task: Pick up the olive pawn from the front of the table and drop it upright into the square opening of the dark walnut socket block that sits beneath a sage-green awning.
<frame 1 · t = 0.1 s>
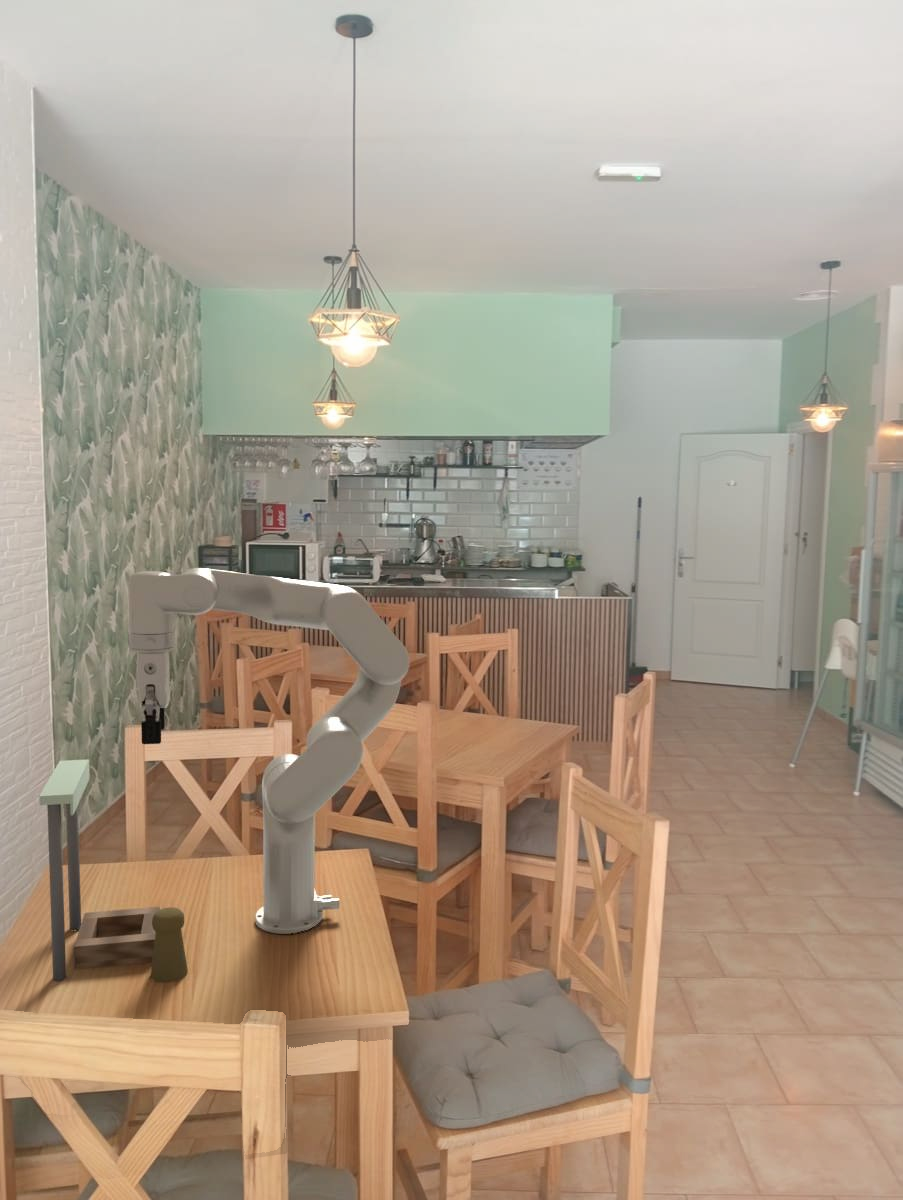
hand: (153, 736, 169), 37 cm above the table, tool pointing down, fingers open, 9 cm apart
socket block: (119, 947, 168), on the table
awning: (68, 865, 164), on the table
olive pawn: (169, 974, 159), on the table
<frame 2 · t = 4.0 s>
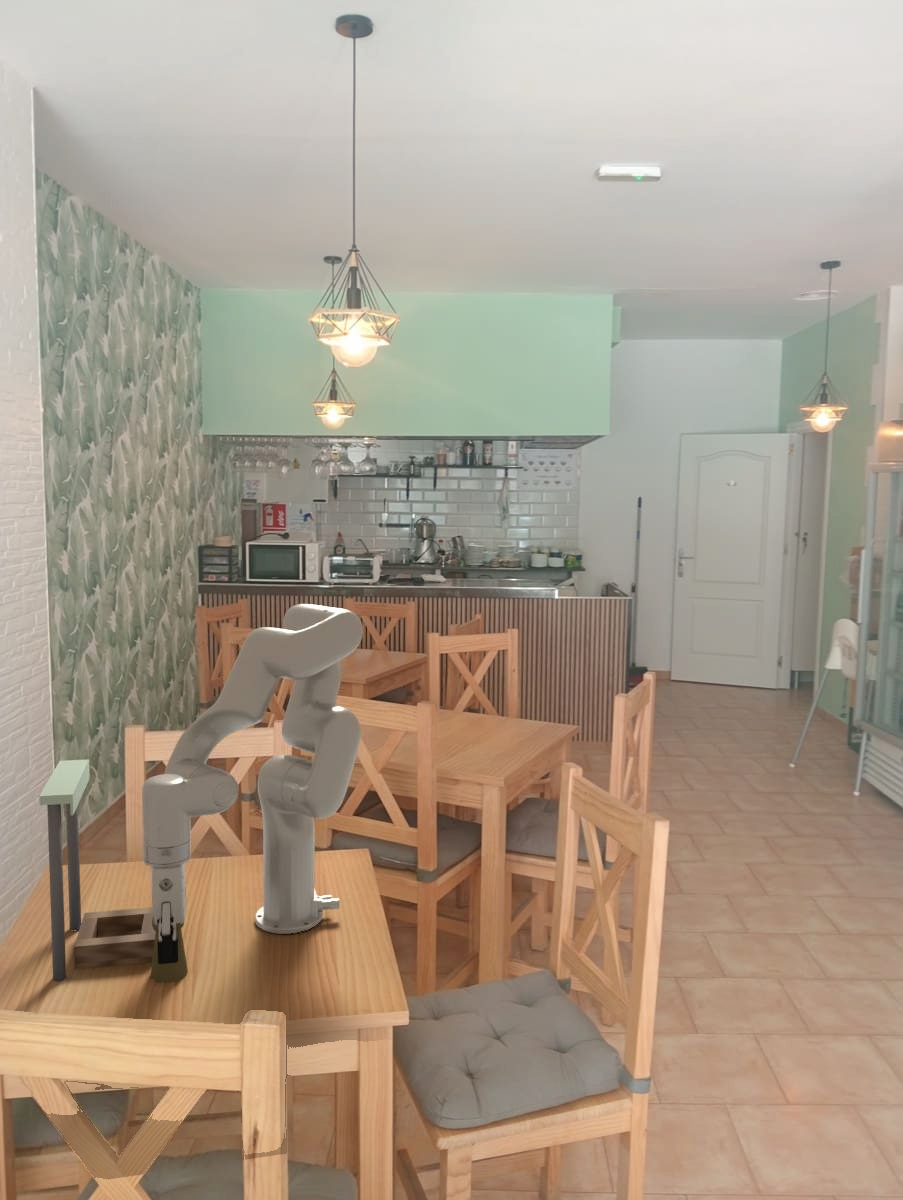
hand: (168, 954, 159), 3 cm above the table, tool pointing down, fingers closed on olive pawn, 4 cm apart
olive pawn: (169, 974, 159), on the table, touching gripper
when the fingers open (5 cm above the table, at t = 10.9 s): olive pawn stays where it is, resting on socket block.
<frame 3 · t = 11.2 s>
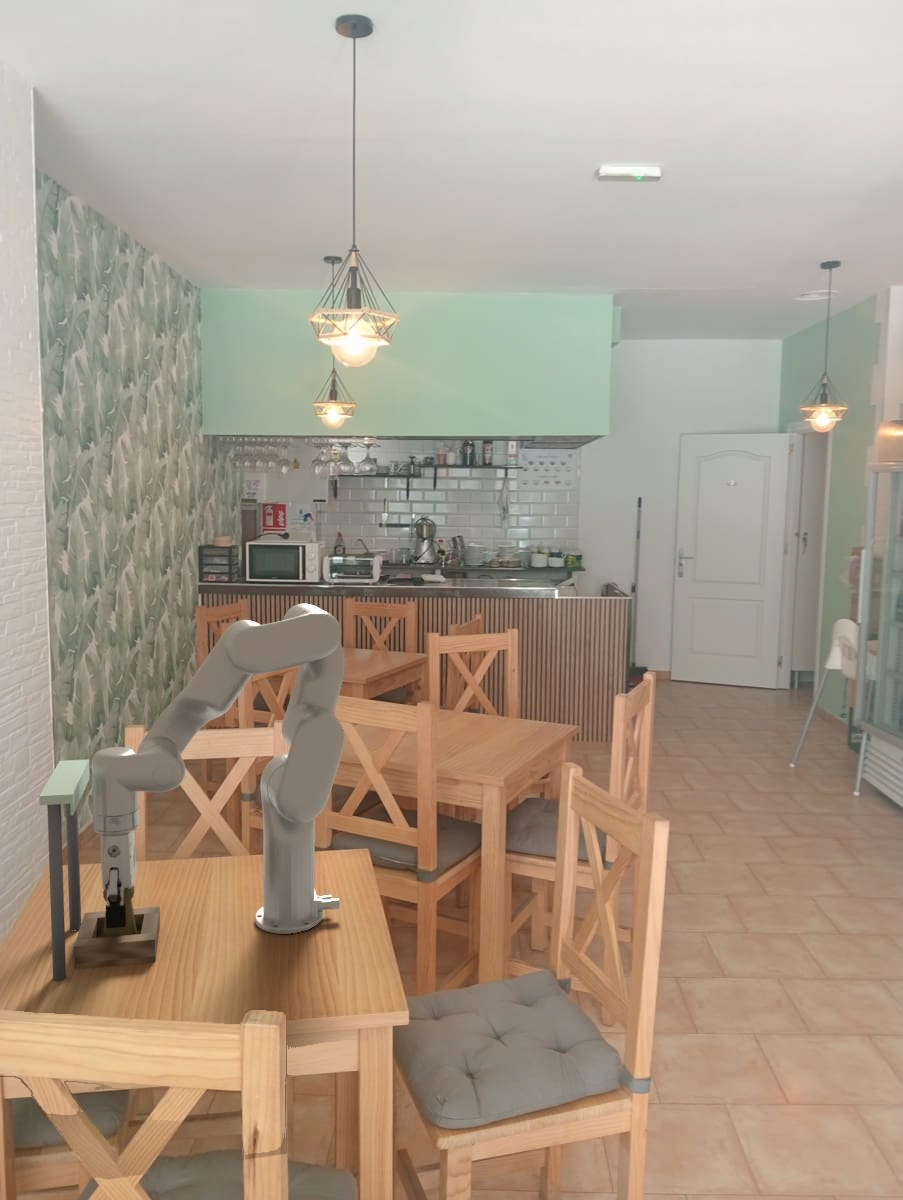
hand: (118, 916, 167), 6 cm above the table, tool pointing down, fingers open, 7 cm apart
olive pawn: (120, 942, 167), point 1 cm above the table, touching socket block
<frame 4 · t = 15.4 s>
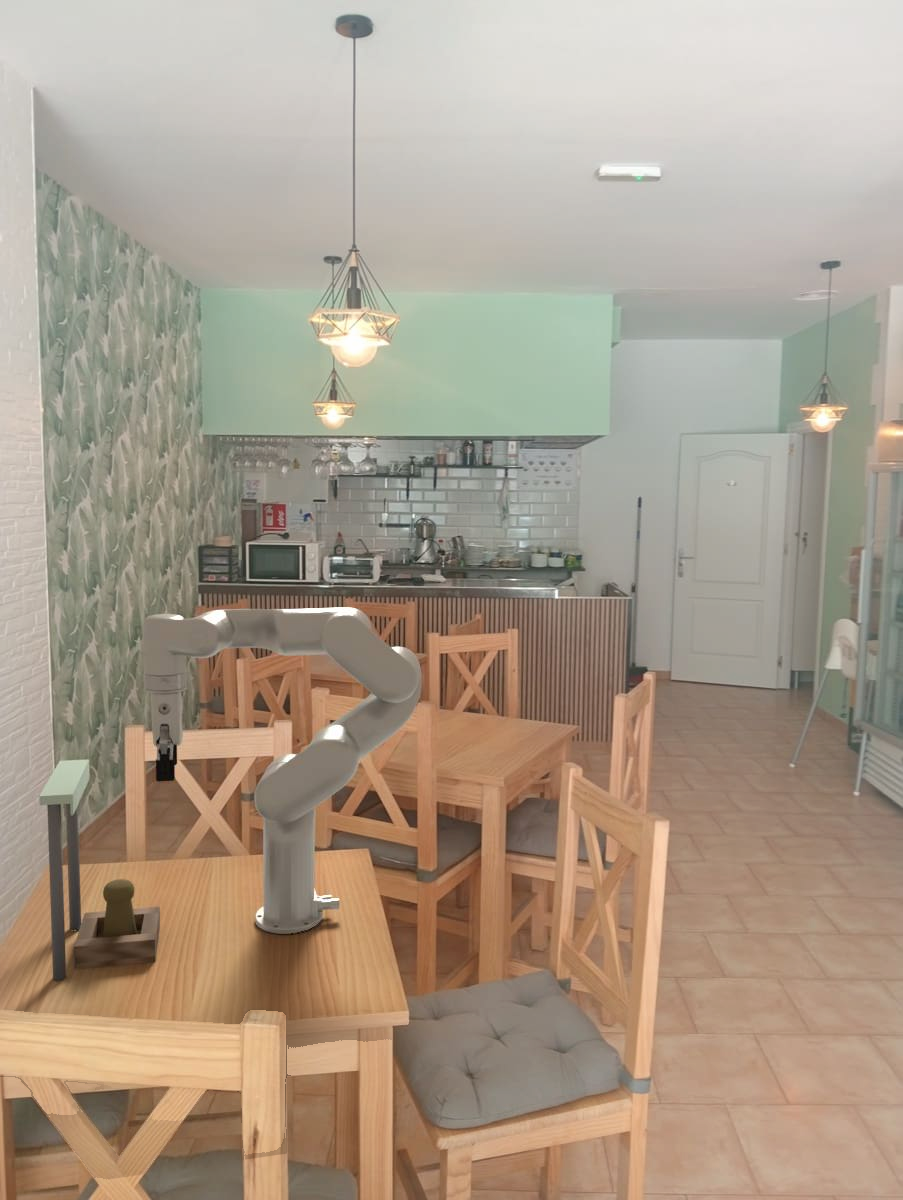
hand: (166, 772, 176), 28 cm above the table, tool pointing down, fingers open, 9 cm apart
nothing on the table moved.
at the end: olive pawn 0.1 cm off-centre on the socket block, point 0.8 cm above the socket block's base; olive pawn tilted 0°; the gripper is holding nothing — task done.
